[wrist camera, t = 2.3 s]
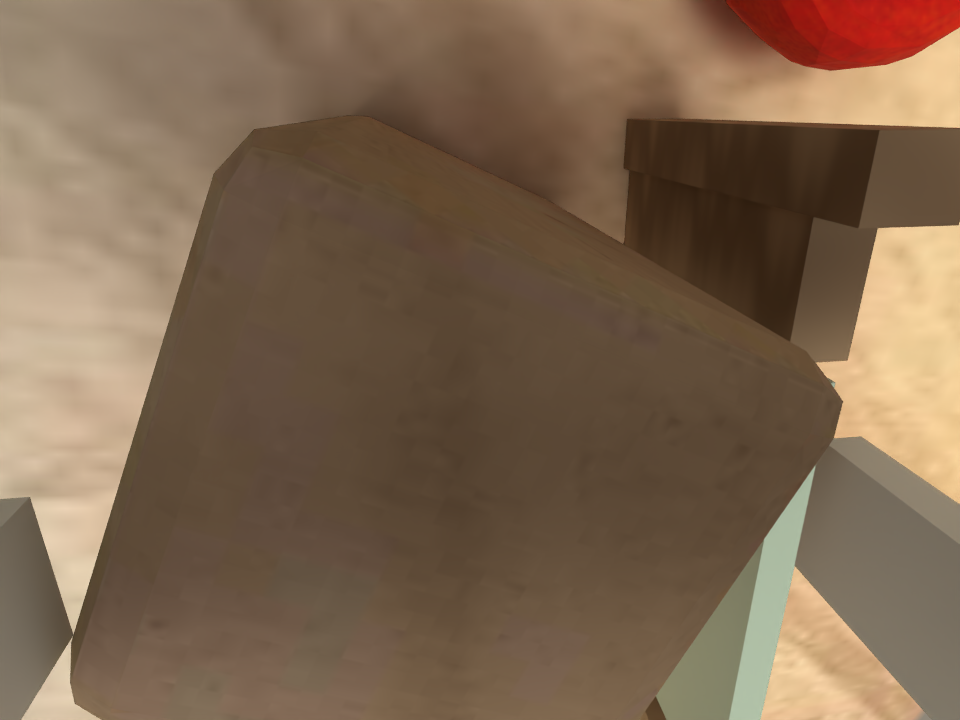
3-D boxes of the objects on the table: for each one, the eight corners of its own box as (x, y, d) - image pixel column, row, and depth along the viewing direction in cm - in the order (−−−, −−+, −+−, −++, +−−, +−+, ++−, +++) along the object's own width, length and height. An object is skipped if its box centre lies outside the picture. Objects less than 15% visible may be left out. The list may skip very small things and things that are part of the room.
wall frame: (627, 119, 27) (879, 130, 13) (681, 118, 27) (985, 129, 13) (584, 697, 39) (688, 1017, 25) (621, 692, 39) (744, 1006, 26)
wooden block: (562, 206, 28) (899, 399, 9) (470, 398, 31) (588, 835, 12) (345, 104, 25) (216, 94, 7) (266, 325, 28) (26, 741, 10)
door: (632, 273, 29) (803, 391, 17) (657, 272, 29) (844, 388, 17) (605, 594, 36) (712, 839, 24) (625, 592, 36) (742, 835, 24)
